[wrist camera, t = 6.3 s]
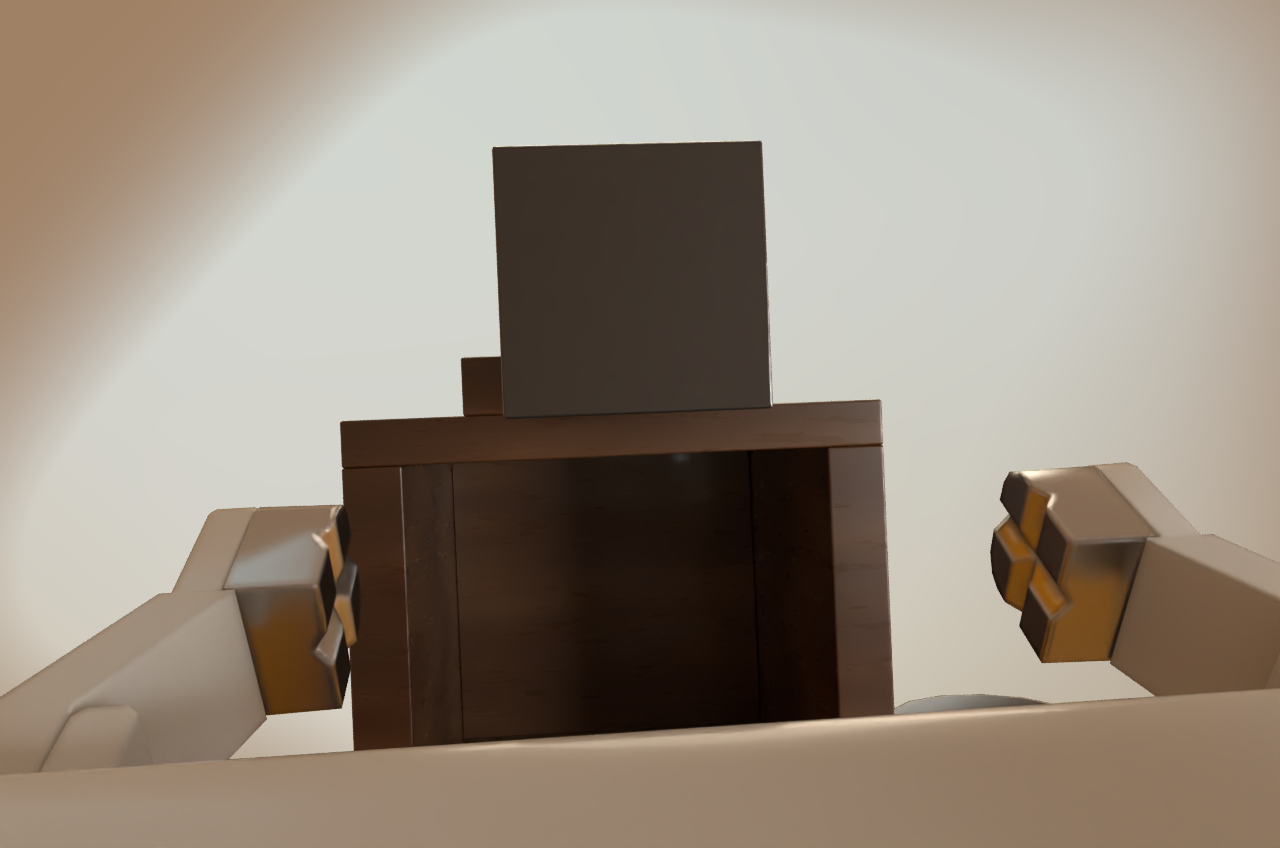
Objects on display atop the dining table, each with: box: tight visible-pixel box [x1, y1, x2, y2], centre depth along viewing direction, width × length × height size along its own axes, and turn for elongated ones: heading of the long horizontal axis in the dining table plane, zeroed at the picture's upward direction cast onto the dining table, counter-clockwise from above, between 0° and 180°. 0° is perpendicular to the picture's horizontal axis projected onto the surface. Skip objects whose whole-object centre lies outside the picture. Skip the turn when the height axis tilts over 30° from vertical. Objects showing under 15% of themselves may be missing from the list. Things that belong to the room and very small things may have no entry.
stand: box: [340, 356, 894, 751], centre depth 33 cm, size 12×14×25 cm
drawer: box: [492, 141, 773, 420], centre depth 29 cm, size 20×5×5 cm, turn 4°
